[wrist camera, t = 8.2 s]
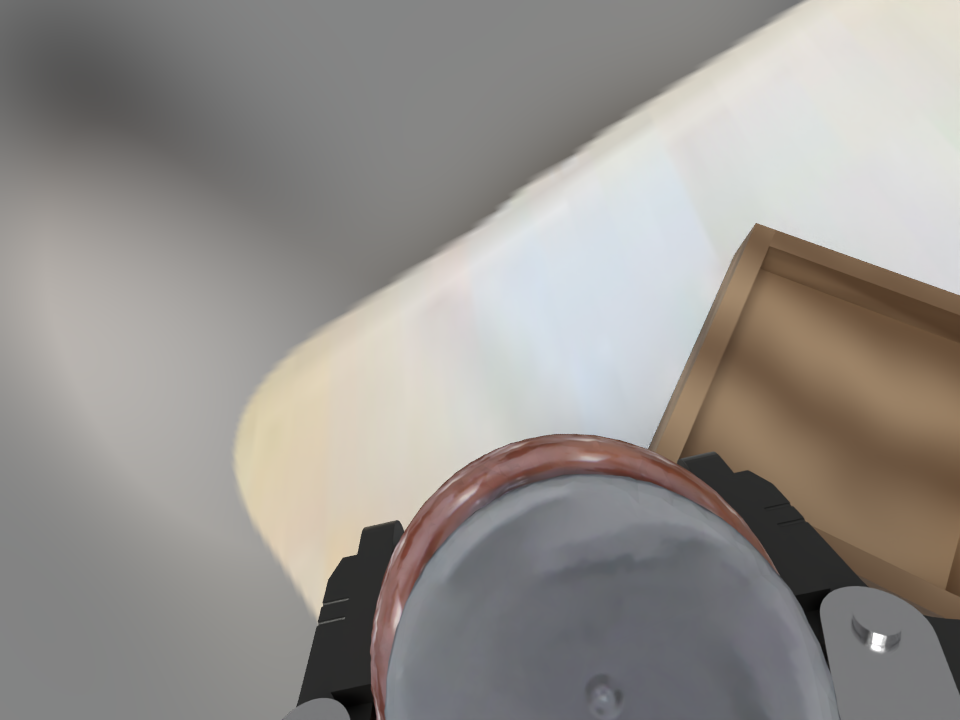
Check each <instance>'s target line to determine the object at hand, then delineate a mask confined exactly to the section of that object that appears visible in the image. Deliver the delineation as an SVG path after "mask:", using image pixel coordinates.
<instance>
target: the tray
mask: <svg viewBox="0 0 960 720" xmlns="http://www.w3.org/2000/svg"><path fill="white" fill-rule="evenodd" d="M648 450H651V451H653V452H655V453H657V454H659V455H661V456H663V457H665V458H667V459H669V460H671V461H673V462H675V463H676V464H677V461H678V459H681V458H685V457H690V456H695V455H699V454H704V453H708V452H716V453H717V454H719V456H720V457H721V458H722V459H723V460H724V461H725V463H726V464H727V465H728V466H729V467H730V469H731V470H732V471H733V472H734V473H736V472H741V471H745V470H749V471H751V472H753V473H755V474H756V475H758V476H760V477H762V478H764V479H765V480H767V481H769V482H771V483H773V484H774V485H775V487H776V488H777V489H778V490H779V491H780V492H781V493H782V494H783V495H784V496H785V497H786V498H787V500H788V501H789V502H790V505H791V506H794V507H795V508H796V509H797V510H798V512H799V513H800V514H801V515H802V516H803V517H804V519H805V521H806V522H809V523H810V525H811V526H812V527H813V528H814V529H815V530H816V531H817V532H818V533H819V534H820V535H821V537H822V538H823V539H824V540H825V541H826V542H827V543H828V544H829V545H830V546H831V547H832V548H833V550H834V551H835V552H836V553H837V554H838V555H839V556H840V557H841V558H842V559H843V560H844V561H845V563H846V564H847V565H848V566H849V567H850V568H851V569H852V570H853V571H854V572H855V573H856V575H857V576H858V577H859V578H860V579H861V580H862V581H863V582H864V583H865V584H866V585H867V586H868V587H869V588H874V589H878V590H881V591H885V592H887V593H890V594H892V595H895V596H896V597H898V598H900V599H902V600H904V601H906V602H907V603H909V604H910V605H912V606H913V607H914V608H915V609H917V610H918V611H919V612H920V613H921V614H922V615H926V616H931V617H938V618H946V619H959V620H960V295H957V294H954V293H951V292H948V291H946V290H943V289H940V288H937V287H934V286H932V285H929V284H926V283H923V282H920V281H918V280H915V279H912V278H909V277H906V276H903V275H901V274H898V273H895V272H892V271H889V270H887V269H884V268H881V267H878V266H875V265H873V264H870V263H867V262H864V261H861V260H859V259H856V258H853V257H850V256H847V255H844V254H842V253H839V252H836V251H833V250H830V249H828V248H825V247H822V246H819V245H816V244H814V243H811V242H808V241H805V240H802V239H799V238H797V237H794V236H791V235H788V234H785V233H783V232H780V231H777V230H774V229H771V228H769V227H766V226H763V225H760V224H757V223H756V224H755V225H754V227H753V228H752V230H751V231H750V233H749V234H748V236H747V237H746V239H745V240H744V241H743V243H742V244H741V246H740V247H739V249H738V250H737V252H736V253H735V255H734V257H733V259H732V262H731V264H730V266H729V268H728V271H727V273H726V275H725V277H724V280H723V282H722V284H721V286H720V289H719V291H718V293H717V295H716V298H715V300H714V302H713V304H712V307H711V309H710V311H709V313H708V316H707V318H706V320H705V322H704V325H703V327H702V329H701V331H700V334H699V336H698V338H697V340H696V343H695V345H694V347H693V349H692V352H691V354H690V356H689V358H688V361H687V363H686V365H685V367H684V370H683V372H682V374H681V376H680V379H679V381H678V383H677V385H676V388H675V390H674V392H673V394H672V397H671V399H670V401H669V403H668V406H667V408H666V410H665V412H664V415H663V417H662V419H661V421H660V424H659V426H658V428H657V430H656V433H655V435H654V437H653V439H652V442H651V444H650V446H649V448H648Z"/></svg>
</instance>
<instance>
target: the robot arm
mask: <svg viewBox="0 0 960 720" xmlns="http://www.w3.org/2000/svg"><path fill="white" fill-rule="evenodd" d="M677 464H678V465H680V466H681V467H683V468H685V469H686V470H688V471H690V472H691V473H693V474H694V475H695V476H697V477H698V478H699V479H701V480H702V481H704V482H705V483H706V484H707V485H709V486H710V487H711V488H712V489H714V490H715V491H716V492H717V493H718V494H719V495H720V496H721V497H722V498H723V499H724V500H725V501H726V502H727V503H728V504H729V505H730V506H731V507H732V508H733V509H734V510H735V511H736V512H737V513H738V514H739V515H740V516H741V517H742V518H743V520H744V521H745V522H746V523H747V525H748V526H749V528H750V529H751V531H752V532H753V533H754V535H755V536H756V537H757V538H758V540H759V541H760V543H761V544H762V546H763V548H764V549H765V551H766V552H767V554H768V555H769V557H770V559H771V561H772V562H773V564H774V566H775V568H776V570H777V571H778V573H779V575H780V577H781V578H782V579H783V580H784V582H785V583H786V584H787V585H788V586H789V588H790V589H791V591H792V592H793V594H794V595H795V597H796V599H797V600H798V602H799V603H800V605H801V607H802V609H803V611H804V613H805V616H806V618H807V620H808V623H809V625H810V627H811V628H812V630H813V632H814V634H815V636H816V638H817V640H818V642H819V643H820V646H821V649H822V652H823V655H824V658H825V661H826V663H827V666H828V668H829V670H830V673H831V675H832V680H833V684H834V689H835V693H836V699H837V707H838V711H839V714H840V718H841V720H960V620H959V619H946V618H938V617H931V616H926V615H922V614H921V613H920V612H919V611H918V610H917V609H915V608H914V607H913V606H912V605H910V604H909V603H907V602H906V601H904V600H902V599H900V598H898V597H896V596H895V595H892V594H890V593H887V592H885V591H881V590H878V589H874V588H869V587H868V586H867V585H866V584H865V583H864V582H863V581H862V580H861V579H860V578H859V577H858V576H857V575H856V573H855V572H854V571H853V570H852V569H851V568H850V567H849V566H848V565H847V564H846V563H845V561H844V560H843V559H842V558H841V557H840V556H839V555H838V554H837V553H836V552H835V551H834V550H833V548H832V547H831V546H830V545H829V544H828V543H827V542H826V541H825V540H824V539H823V538H822V537H821V535H820V534H819V533H818V532H817V531H816V530H815V529H814V528H813V527H812V526H811V525H810V523H809V522H806V521H805V519H804V517H803V516H802V515H801V514H800V513H799V512H798V510H797V509H796V508H795V507H794V506H791V505H790V502H789V501H788V500H787V498H786V497H785V496H784V495H783V494H782V493H781V492H780V491H779V490H778V489H777V488H776V487H775V485H774V484H773V483H771V482H769V481H767V480H765V479H764V478H762V477H760V476H758V475H756V474H755V473H753V472H751V471H749V470H745V471H741V472H736V473H734V472H733V471H732V470H731V469H730V467H729V466H728V465H727V464H726V463H725V461H724V460H723V459H722V458H721V457H720V456H719V454H717V453H716V452H708V453H704V454H699V455H695V456H690V457H685V458H681V459H678V461H677ZM403 533H404V530H403V527H402V525H401V523H400V521H398V520H396V521H392V522H387V523H383V524H378V525H374V526H369V527H365V528H364V529H363V531H362V534H361V539H360V544H359V549H358V554H357V555H354V556H349V557H344V558H342V560H341V561H340V563H339V564H338V566H337V567H336V569H335V570H334V572H333V573H332V575H331V576H330V578H329V579H328V583H327V587H326V591H325V595H324V599H323V607H321V611H320V616H319V620H318V624H319V625H318V626H317V628H316V632H315V636H314V640H313V644H312V648H311V652H310V656H309V660H308V664H307V668H306V672H305V676H304V680H303V684H302V688H301V692H300V696H299V700H298V703H297V706H296V708H295V709H294V710H292V711H291V712H289V713H288V714H287V715H286V716H285V717H284V718H283V719H282V720H376V710H375V705H374V697H373V694H372V691H371V654H370V647H371V634H372V630H373V619H374V614H375V610H376V604H377V600H378V597H379V594H380V590H381V586H382V581H383V578H384V575H385V572H386V569H387V566H388V564H389V561H390V559H391V556H392V554H393V551H394V549H395V547H396V545H397V544H398V542H399V541H400V539H401V536H402V535H403Z"/></svg>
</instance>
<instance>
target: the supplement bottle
mask: <svg viewBox="0 0 960 720" xmlns="http://www.w3.org/2000/svg"><path fill="white" fill-rule="evenodd" d="M370 654H371V691H372V694H373V697H374V705H375V710H376V720H841V718H840V714H839V711H838V707H837V699H836V693H835V689H834V684H833V680H832V675H831V673H830V670H829V668H828V666H827V663H826V661H825V658H824V655H823V652H822V649H821V646H820V643H819V642H818V640H817V638H816V636H815V634H814V632H813V630H812V628H811V627H810V625H809V623H808V620H807V618H806V616H805V613H804V611H803V609H802V607H801V605H800V603H799V602H798V600H797V599H796V597H795V595H794V594H793V592H792V591H791V589H790V588H789V586H788V585H787V584H786V583H785V582H784V580H783V579H782V578H781V577H780V575H779V573H778V571H777V570H776V568H775V566H774V564H773V562H772V561H771V559H770V557H769V555H768V554H767V552H766V551H765V549H764V548H763V546H762V544H761V543H760V541H759V540H758V538H757V537H756V536H755V535H754V533H753V532H752V531H751V529H750V528H749V526H748V525H747V523H746V522H745V521H744V520H743V518H742V517H741V516H740V515H739V514H738V513H737V512H736V511H735V510H734V509H733V508H732V507H731V506H730V505H729V504H728V503H727V502H726V501H725V500H724V499H723V498H722V497H721V496H720V495H719V494H718V493H717V492H716V491H715V490H714V489H712V488H711V487H710V486H709V485H707V484H706V483H705V482H704V481H702V480H701V479H699V478H698V477H697V476H695V475H694V474H693V473H691V472H690V471H688V470H686V469H685V468H683V467H681V466H680V465H678V464H676V463H675V462H673V461H671V460H669V459H667V458H665V457H663V456H661V455H659V454H657V453H655V452H653V451H651V450H648V449H645V448H642V447H639V446H636V445H633V444H630V443H627V442H624V441H621V440H615V439H610V438H605V437H600V436H596V435H580V434H554V435H546V436H540V437H536V438H530V439H525V440H522V441H519V442H515V443H510V444H508V445H506V446H503V447H501V448H498V449H495V450H493V451H492V452H490V453H488V454H485V455H483V456H482V457H480V458H478V459H476V460H475V461H473V462H471V463H469V464H468V465H466V466H465V467H464V468H462V469H461V470H459V471H458V472H456V473H455V474H454V475H453V476H452V477H451V478H450V479H448V480H447V481H446V482H445V483H444V484H443V485H442V486H441V487H440V488H439V489H438V490H437V491H436V492H435V493H434V494H433V495H432V496H431V497H430V498H429V499H428V500H427V501H426V502H425V503H424V504H423V506H422V507H421V508H420V510H419V511H418V513H417V514H416V515H415V517H414V518H413V520H412V521H411V523H410V524H409V526H408V527H407V529H406V530H405V532H404V533H403V535H402V536H401V539H400V541H399V542H398V544H397V545H396V547H395V549H394V551H393V554H392V556H391V559H390V561H389V564H388V566H387V569H386V572H385V575H384V578H383V581H382V586H381V590H380V594H379V597H378V600H377V604H376V610H375V614H374V619H373V630H372V634H371V647H370Z"/></svg>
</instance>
